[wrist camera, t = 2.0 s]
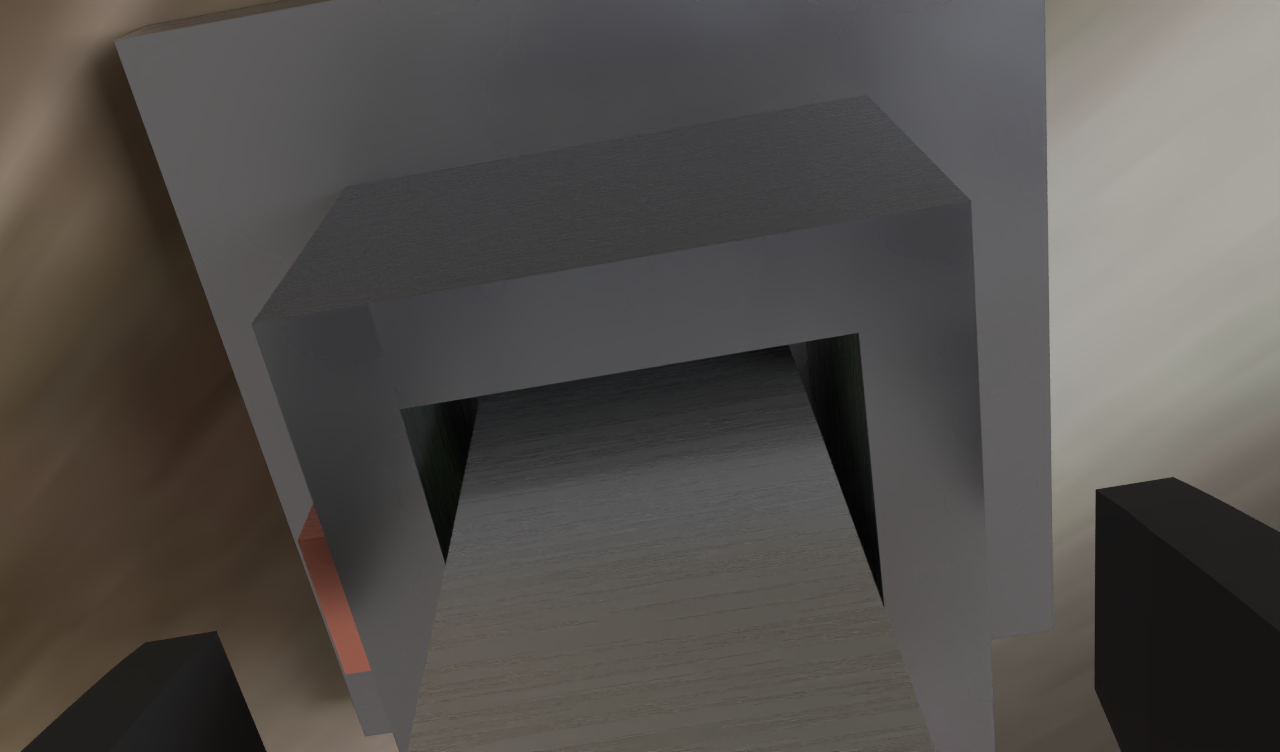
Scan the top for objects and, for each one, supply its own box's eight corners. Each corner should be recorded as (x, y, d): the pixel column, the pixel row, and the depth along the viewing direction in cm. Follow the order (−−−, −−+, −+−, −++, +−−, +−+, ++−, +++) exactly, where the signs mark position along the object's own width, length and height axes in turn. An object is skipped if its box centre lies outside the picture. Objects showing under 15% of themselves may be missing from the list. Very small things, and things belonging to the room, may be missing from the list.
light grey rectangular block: (761, 238, 13) (966, 766, 6) (791, 471, 15) (987, 1138, 7) (492, 284, 14) (359, 855, 6) (546, 511, 15) (496, 1205, 7)
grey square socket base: (1011, -134, 13) (1235, -110, 8) (1030, 587, 17) (1182, 859, 13) (146, 25, 13) (-86, 131, 9) (377, 689, 18) (301, 987, 13)
